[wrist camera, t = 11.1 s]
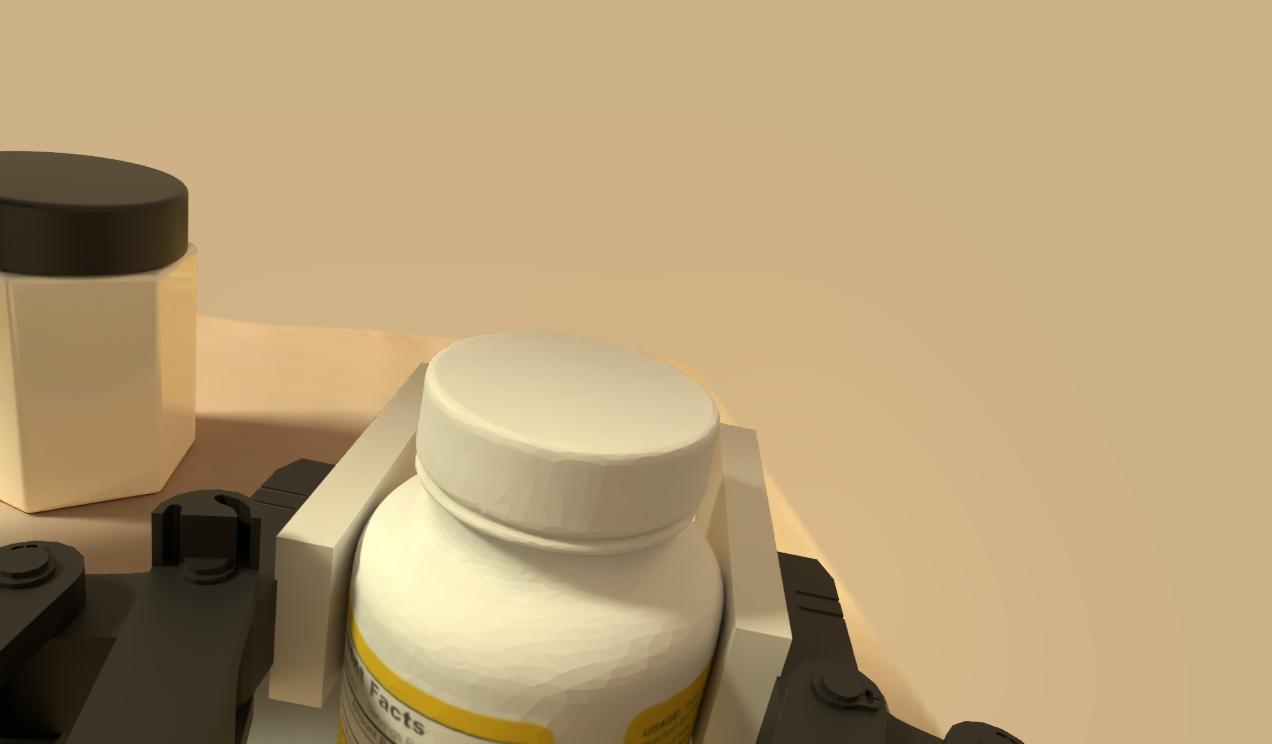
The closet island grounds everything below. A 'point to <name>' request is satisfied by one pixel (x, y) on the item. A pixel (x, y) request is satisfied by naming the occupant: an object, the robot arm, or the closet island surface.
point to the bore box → (298, 718)
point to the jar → (93, 329)
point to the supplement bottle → (539, 555)
